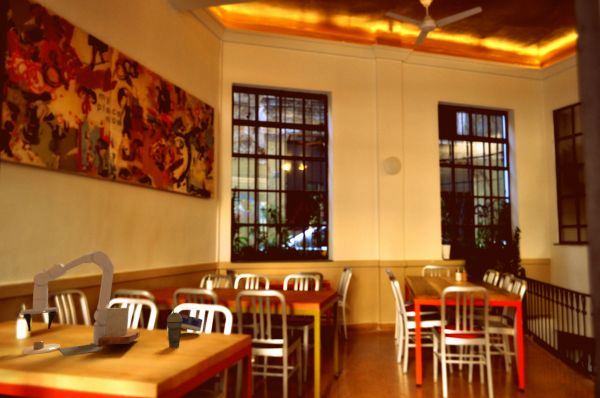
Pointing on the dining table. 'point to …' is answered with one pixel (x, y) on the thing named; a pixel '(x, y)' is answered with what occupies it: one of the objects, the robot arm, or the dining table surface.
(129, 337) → the brown wooden board
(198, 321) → the dog bowl
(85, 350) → the mat
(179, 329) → the beverage cup
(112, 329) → the grey cylinder
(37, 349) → the lid
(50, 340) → the dining table surface
